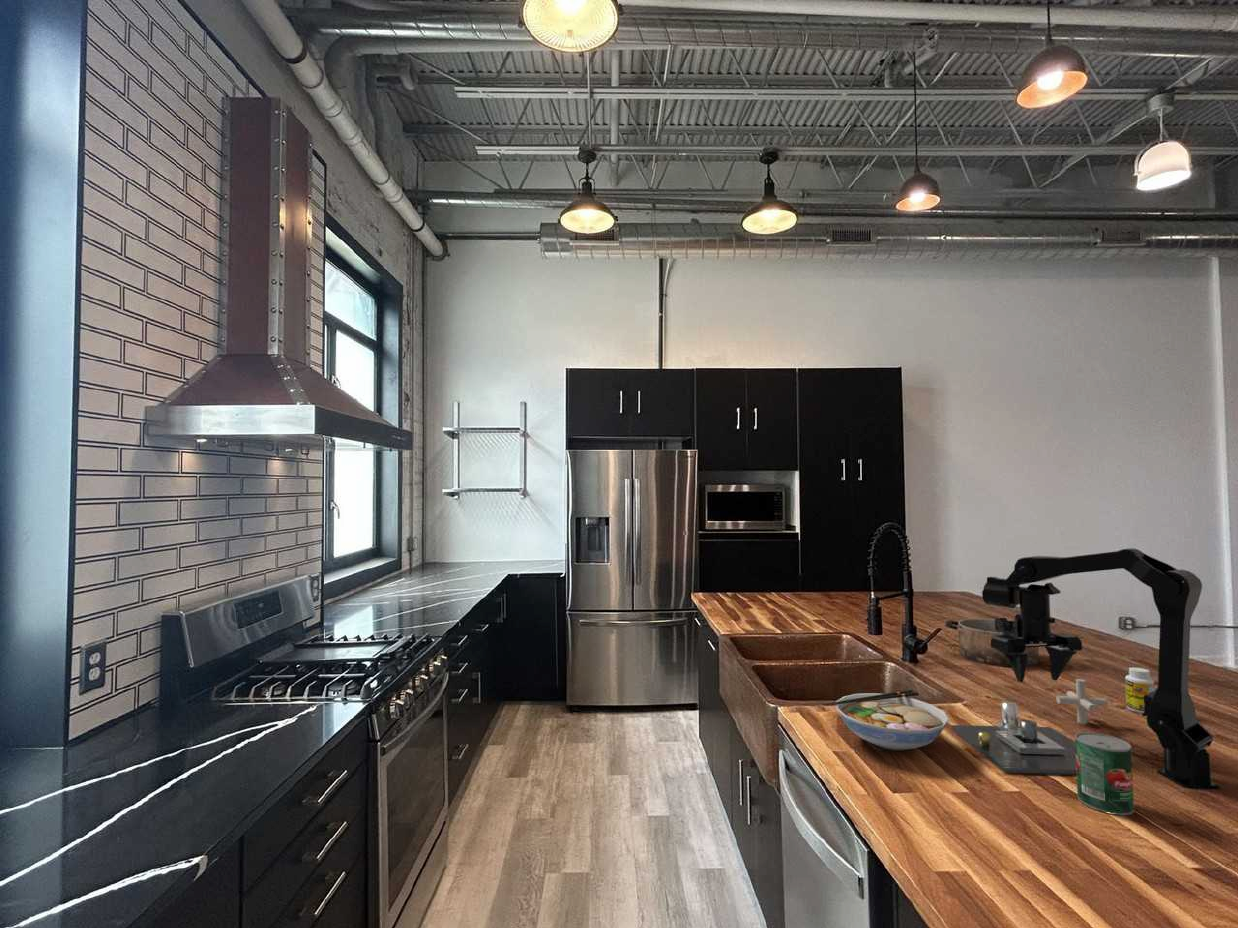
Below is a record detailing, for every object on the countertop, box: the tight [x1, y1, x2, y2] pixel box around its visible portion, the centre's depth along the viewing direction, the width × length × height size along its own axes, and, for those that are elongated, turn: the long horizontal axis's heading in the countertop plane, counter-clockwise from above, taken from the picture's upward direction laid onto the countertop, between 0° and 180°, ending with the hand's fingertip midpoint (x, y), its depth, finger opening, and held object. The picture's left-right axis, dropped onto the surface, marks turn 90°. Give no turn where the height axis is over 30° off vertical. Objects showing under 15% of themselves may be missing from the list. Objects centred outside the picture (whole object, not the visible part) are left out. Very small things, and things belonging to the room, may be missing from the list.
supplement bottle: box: [1125, 667, 1155, 714], centre depth 153 cm, size 6×6×10 cm
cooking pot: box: [945, 618, 1040, 668], centre depth 201 cm, size 30×22×11 cm
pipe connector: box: [1055, 678, 1108, 725], centre depth 145 cm, size 10×10×10 cm
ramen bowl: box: [822, 689, 950, 752], centre depth 133 cm, size 25×23×8 cm
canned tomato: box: [1074, 731, 1135, 816], centre depth 108 cm, size 8×8×11 cm
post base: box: [951, 719, 1077, 776], centre depth 129 cm, size 22×22×6 cm
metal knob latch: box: [996, 700, 1065, 755], centre depth 132 cm, size 14×9×6 cm, turn 176°
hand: (1037, 681), depth 138 cm, fingers open, 8 cm apart
